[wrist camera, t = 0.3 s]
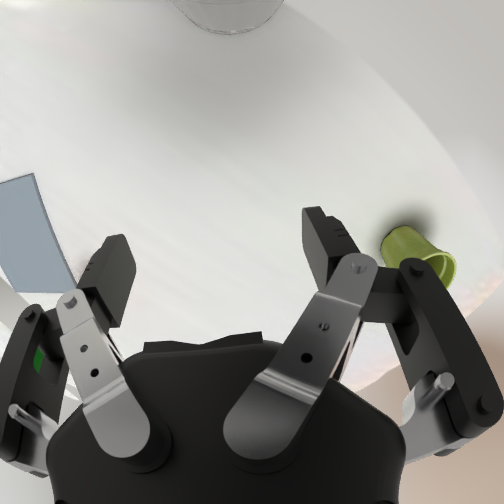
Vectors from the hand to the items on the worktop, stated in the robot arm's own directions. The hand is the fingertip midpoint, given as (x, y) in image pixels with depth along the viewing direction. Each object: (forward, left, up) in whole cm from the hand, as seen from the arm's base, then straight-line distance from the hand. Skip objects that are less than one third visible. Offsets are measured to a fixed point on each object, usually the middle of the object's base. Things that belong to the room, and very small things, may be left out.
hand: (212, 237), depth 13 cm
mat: (+11, -33, -19) cm, 39 cm away
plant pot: (+15, +23, -19) cm, 33 cm away
